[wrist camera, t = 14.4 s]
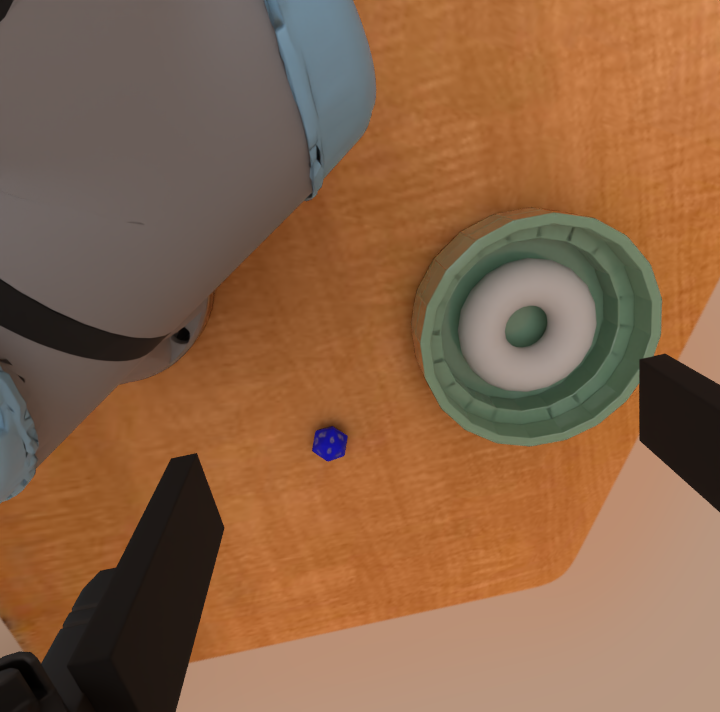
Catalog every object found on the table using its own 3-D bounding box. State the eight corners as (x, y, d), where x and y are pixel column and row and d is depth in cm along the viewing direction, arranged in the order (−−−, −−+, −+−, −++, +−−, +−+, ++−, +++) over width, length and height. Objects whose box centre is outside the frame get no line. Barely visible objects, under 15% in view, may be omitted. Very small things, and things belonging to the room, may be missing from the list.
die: (353, 431, 43) (350, 466, 41) (325, 435, 44) (321, 469, 42) (338, 416, 41) (334, 452, 39) (309, 420, 42) (304, 456, 40)
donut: (606, 326, 40) (537, 224, 37) (631, 341, 37) (558, 231, 34) (500, 404, 42) (426, 313, 39) (515, 424, 39) (435, 327, 35)
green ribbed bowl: (425, 431, 43) (437, 463, 38) (395, 231, 37) (405, 240, 32) (622, 395, 43) (658, 423, 38) (622, 188, 37) (665, 191, 32)
